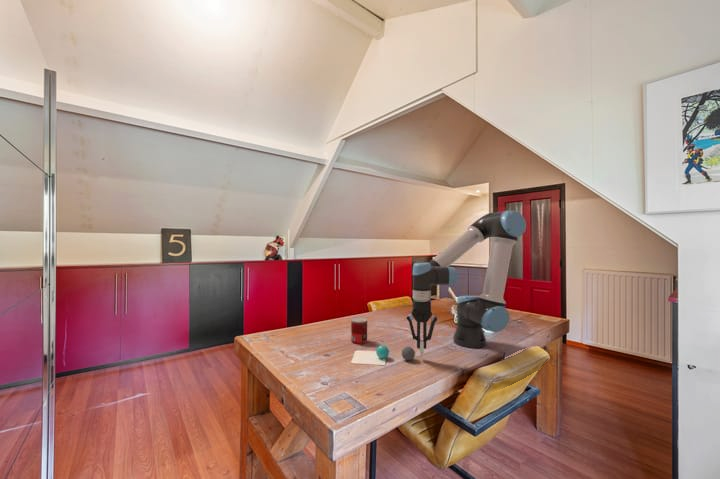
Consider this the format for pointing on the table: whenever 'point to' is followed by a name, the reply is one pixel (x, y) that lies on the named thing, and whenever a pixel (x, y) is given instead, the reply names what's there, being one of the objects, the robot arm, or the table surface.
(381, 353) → the object ball
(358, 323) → the canned food
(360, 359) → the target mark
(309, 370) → the table surface
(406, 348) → the gray ball
